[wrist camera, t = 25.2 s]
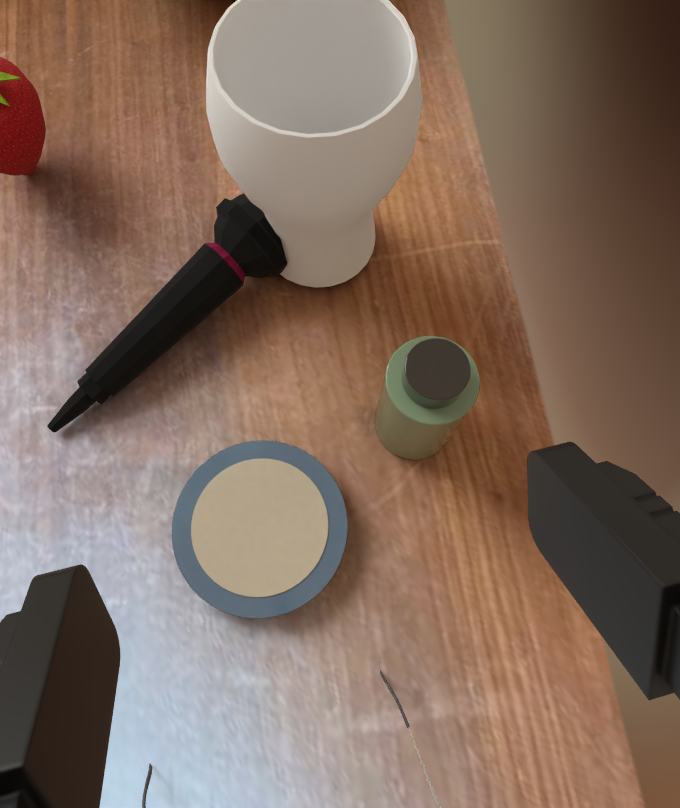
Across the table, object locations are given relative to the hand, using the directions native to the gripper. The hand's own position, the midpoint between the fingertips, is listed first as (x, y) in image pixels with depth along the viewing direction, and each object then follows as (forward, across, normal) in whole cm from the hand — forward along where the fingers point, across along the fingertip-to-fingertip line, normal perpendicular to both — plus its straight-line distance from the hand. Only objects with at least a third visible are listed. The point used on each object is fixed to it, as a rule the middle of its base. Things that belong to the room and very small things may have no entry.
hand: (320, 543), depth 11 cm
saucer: (+21, +3, +16) cm, 26 cm away
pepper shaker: (+24, -8, +13) cm, 28 cm away
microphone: (+32, +5, +6) cm, 33 cm away
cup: (+34, -5, +3) cm, 34 cm away
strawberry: (+42, +13, -4) cm, 44 cm away
